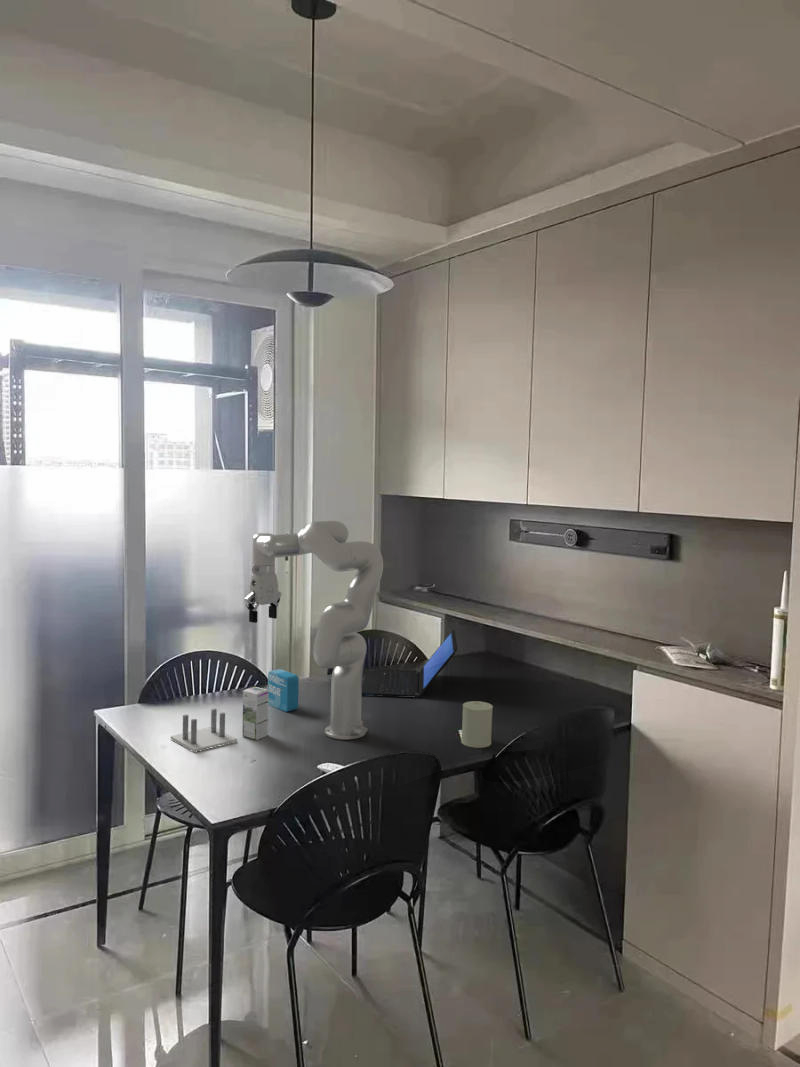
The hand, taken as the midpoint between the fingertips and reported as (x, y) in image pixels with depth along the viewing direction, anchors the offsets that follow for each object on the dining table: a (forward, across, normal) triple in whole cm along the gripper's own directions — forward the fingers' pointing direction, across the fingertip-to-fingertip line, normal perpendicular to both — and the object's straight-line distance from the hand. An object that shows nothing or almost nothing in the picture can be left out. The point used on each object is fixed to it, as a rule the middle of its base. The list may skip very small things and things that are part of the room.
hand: (263, 620), depth 267 cm
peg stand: (+30, -36, -10) cm, 48 cm away
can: (+30, +12, -75) cm, 82 cm away
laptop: (+30, +52, -26) cm, 65 cm away
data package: (+30, +2, -7) cm, 31 cm away
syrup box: (+30, -24, -19) cm, 43 cm away
